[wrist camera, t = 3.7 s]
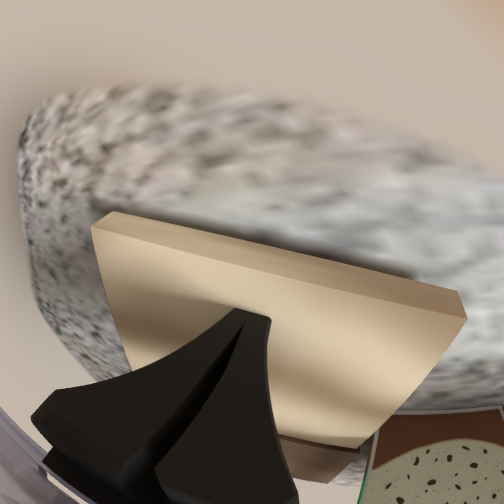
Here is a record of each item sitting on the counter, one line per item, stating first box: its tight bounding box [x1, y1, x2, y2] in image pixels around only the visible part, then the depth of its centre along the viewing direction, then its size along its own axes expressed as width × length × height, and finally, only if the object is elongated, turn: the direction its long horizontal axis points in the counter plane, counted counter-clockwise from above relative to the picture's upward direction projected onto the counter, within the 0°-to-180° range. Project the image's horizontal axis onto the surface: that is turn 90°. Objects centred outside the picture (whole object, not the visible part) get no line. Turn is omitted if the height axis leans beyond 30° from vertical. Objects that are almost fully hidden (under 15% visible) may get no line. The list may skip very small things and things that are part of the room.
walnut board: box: [278, 434, 360, 484], centre depth 17 cm, size 15×6×2 cm, turn 84°
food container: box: [357, 405, 504, 504], centre depth 9 cm, size 12×6×10 cm, turn 92°
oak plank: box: [90, 211, 467, 449], centre depth 12 cm, size 11×14×2 cm
